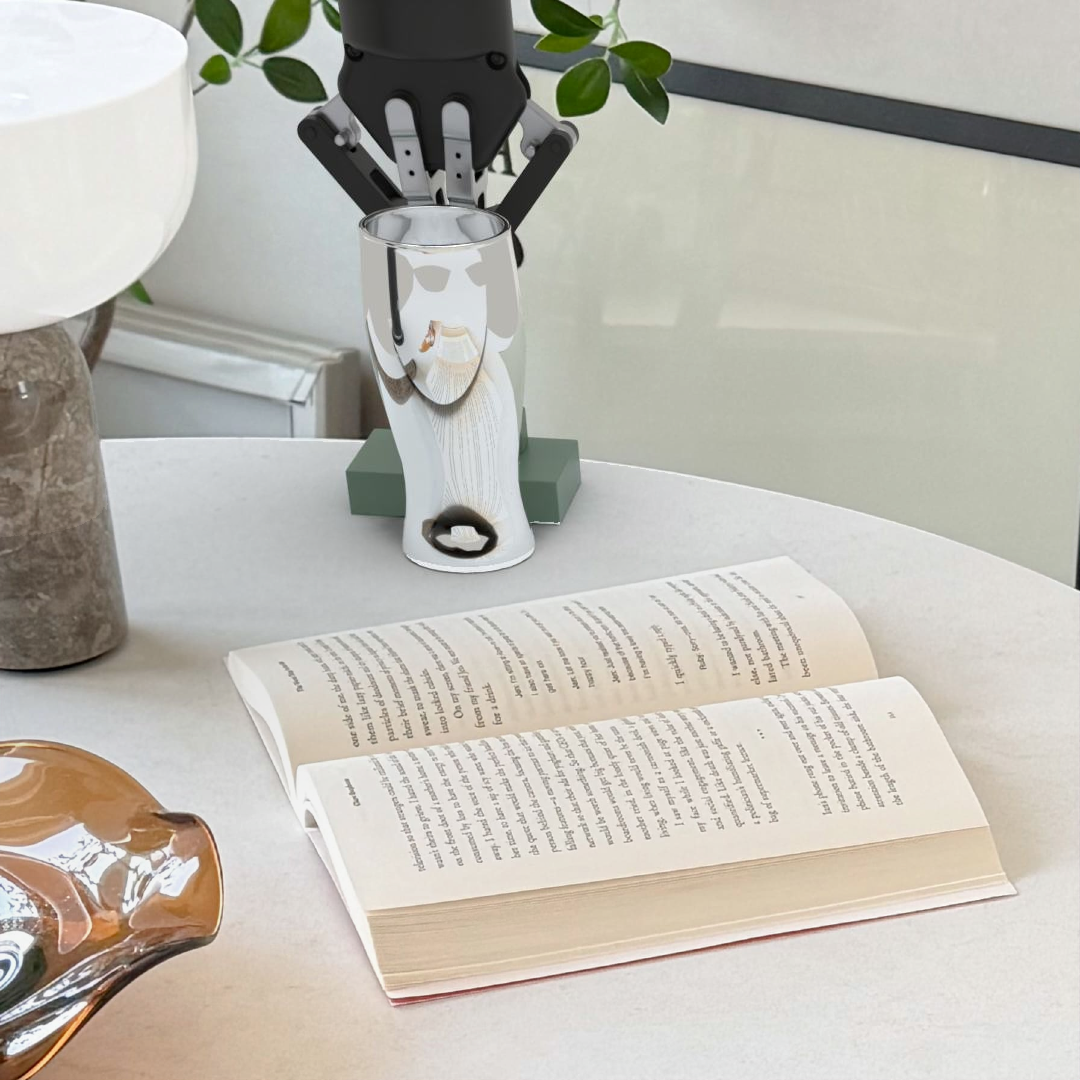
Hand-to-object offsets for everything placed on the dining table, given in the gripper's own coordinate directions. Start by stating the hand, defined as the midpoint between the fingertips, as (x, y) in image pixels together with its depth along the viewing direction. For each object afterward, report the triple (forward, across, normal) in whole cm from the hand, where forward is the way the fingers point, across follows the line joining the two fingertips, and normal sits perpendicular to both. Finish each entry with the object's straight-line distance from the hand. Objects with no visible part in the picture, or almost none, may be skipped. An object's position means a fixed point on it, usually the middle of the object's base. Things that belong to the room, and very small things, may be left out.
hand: (461, 324), depth 133 cm
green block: (+8, 0, -1) cm, 8 cm away
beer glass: (+8, +1, -8) cm, 11 cm away
